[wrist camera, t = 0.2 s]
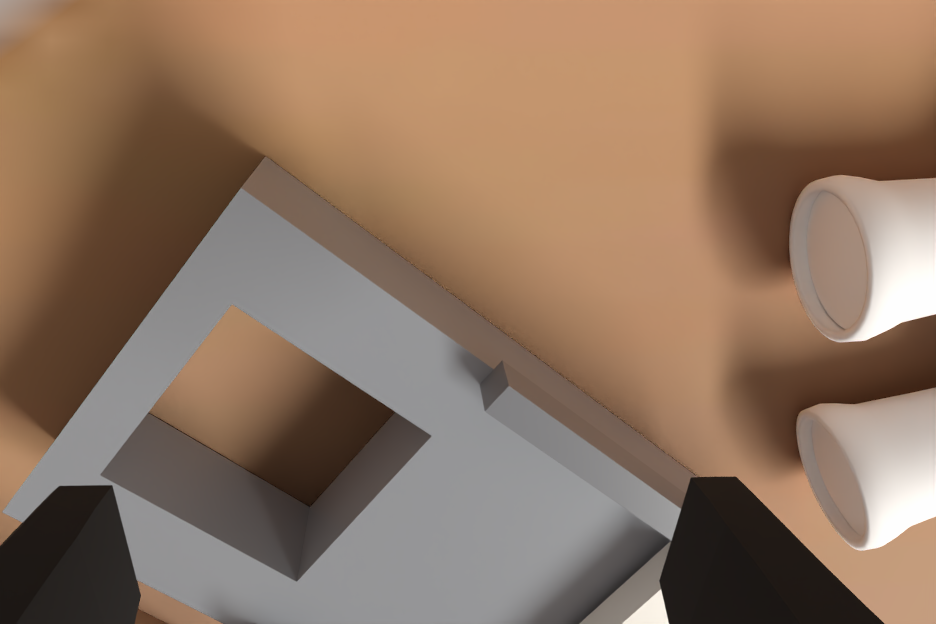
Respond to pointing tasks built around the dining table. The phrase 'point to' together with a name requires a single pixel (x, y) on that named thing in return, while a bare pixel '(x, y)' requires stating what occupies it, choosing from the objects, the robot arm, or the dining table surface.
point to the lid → (636, 598)
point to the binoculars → (858, 319)
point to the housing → (367, 447)
